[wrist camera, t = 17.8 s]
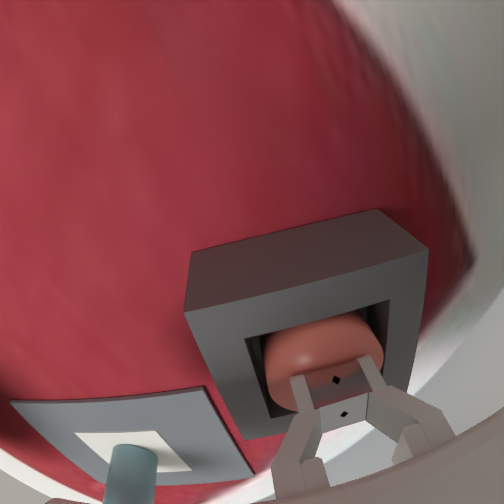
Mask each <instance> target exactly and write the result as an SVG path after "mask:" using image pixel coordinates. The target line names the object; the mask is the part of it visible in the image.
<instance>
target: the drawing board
mask: <svg viewBox="0 0 504 504" xmlns="http://www.w3.org/2000/svg"><path fill="white" fill-rule="evenodd" d="M9 403H10V404H11V405H12V406H13V407H14V408H15V409H16V411H17V412H18V413H19V414H20V415H21V416H22V417H23V418H24V419H25V420H26V421H27V422H28V423H29V424H30V425H31V426H32V427H33V428H34V429H35V430H36V431H37V432H39V433H40V434H41V435H42V436H43V437H44V438H45V439H46V440H47V441H48V442H49V443H51V444H52V445H53V446H54V447H55V448H56V449H57V450H59V451H60V452H61V453H62V454H63V455H64V456H66V457H67V458H68V459H69V460H71V461H72V462H73V463H74V464H76V465H77V466H78V467H79V468H81V469H82V470H83V471H85V472H86V473H87V474H89V475H90V476H91V477H93V478H94V479H95V480H97V481H98V482H100V483H102V484H106V481H107V475H108V470H109V465H110V460H111V455H112V450H113V447H114V446H116V445H122V444H125V445H133V446H137V447H141V448H144V449H146V450H148V451H150V452H152V453H154V454H155V455H156V456H157V457H158V466H157V476H156V485H187V484H201V483H213V482H222V481H231V480H238V479H245V478H252V477H255V476H254V473H253V471H252V470H251V468H250V467H249V465H248V464H247V462H246V460H245V459H244V457H243V456H242V454H241V452H240V451H239V449H238V447H237V446H236V444H235V442H234V441H233V439H232V437H231V436H230V434H229V432H228V431H227V429H226V427H225V425H224V424H223V422H222V420H221V418H220V417H219V415H218V413H217V411H216V409H215V408H214V406H213V404H212V402H211V400H210V399H209V397H208V395H207V393H206V391H205V389H204V387H203V386H201V387H194V388H188V389H181V390H175V391H167V392H160V393H152V394H143V395H133V396H123V397H111V398H97V399H79V400H10V402H9Z"/></svg>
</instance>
